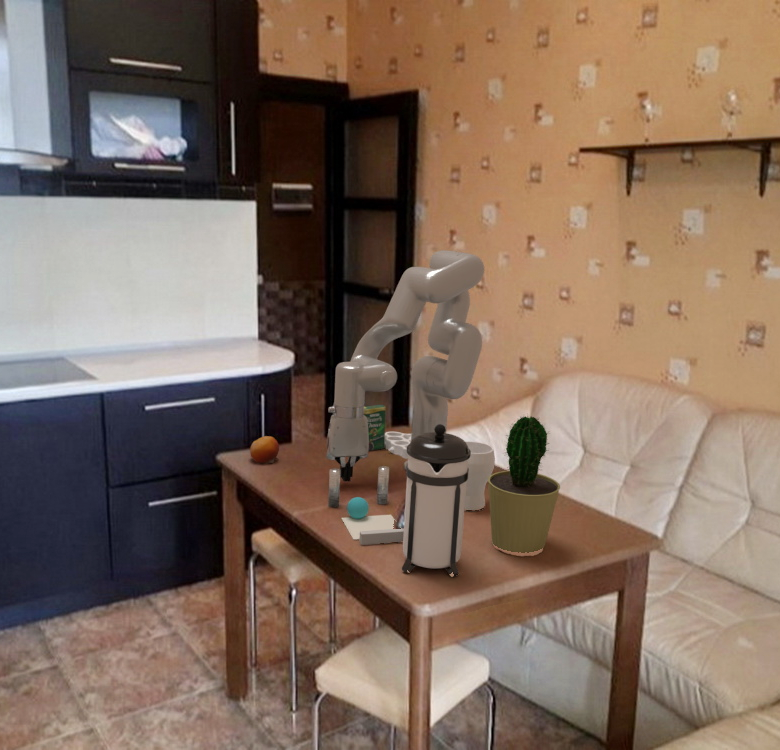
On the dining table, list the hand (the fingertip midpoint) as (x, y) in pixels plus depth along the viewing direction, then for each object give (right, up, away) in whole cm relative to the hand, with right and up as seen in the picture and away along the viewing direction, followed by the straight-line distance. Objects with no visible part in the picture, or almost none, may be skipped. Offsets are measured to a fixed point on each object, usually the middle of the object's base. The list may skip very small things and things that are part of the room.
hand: (346, 479), depth 210 cm
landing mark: (+7, -8, -25) cm, 27 cm away
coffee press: (+19, -12, -40) cm, 46 cm away
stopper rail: (+11, -9, -32) cm, 35 cm away
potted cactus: (+39, -11, -31) cm, 51 cm away
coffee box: (+6, +5, +30) cm, 31 cm away
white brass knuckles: (+16, +4, +33) cm, 37 cm away
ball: (+4, -4, -21) cm, 21 cm away
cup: (+31, -5, -9) cm, 32 cm away
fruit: (-23, +3, +16) cm, 28 cm away
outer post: (-2, -4, -14) cm, 14 cm away
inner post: (+9, -4, -10) cm, 14 cm away
